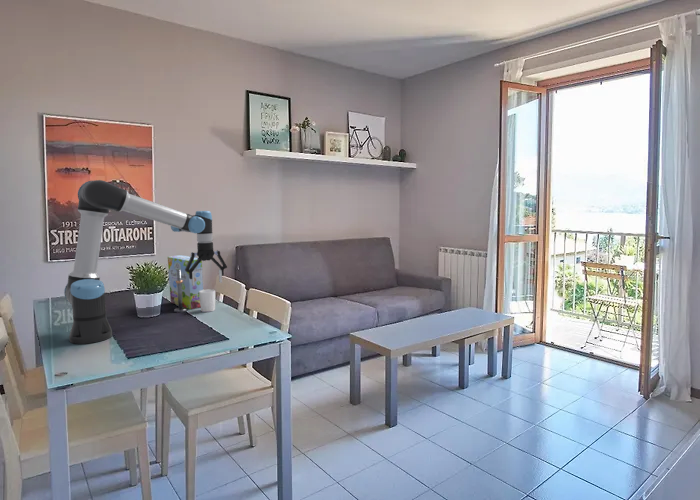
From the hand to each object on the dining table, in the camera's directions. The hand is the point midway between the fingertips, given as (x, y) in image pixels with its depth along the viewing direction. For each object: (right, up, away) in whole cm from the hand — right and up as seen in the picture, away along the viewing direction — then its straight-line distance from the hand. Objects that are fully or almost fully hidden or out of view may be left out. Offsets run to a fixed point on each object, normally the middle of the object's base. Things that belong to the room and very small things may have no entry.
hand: (207, 284), depth 227 cm
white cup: (0, -14, +1) cm, 14 cm away
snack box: (-15, -12, +13) cm, 23 cm away
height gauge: (-13, -14, 0) cm, 19 cm away
